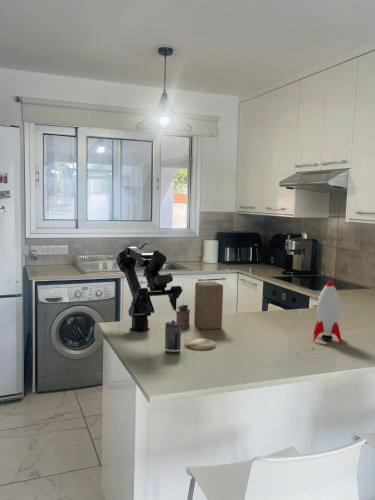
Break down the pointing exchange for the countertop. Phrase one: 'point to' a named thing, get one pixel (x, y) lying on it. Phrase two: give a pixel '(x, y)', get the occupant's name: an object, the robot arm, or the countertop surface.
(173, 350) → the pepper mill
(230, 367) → the countertop surface
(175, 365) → the countertop surface
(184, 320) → the lighter
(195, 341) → the smooth tan round disc
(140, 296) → the robot arm
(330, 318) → the rocket
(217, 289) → the wooden block
